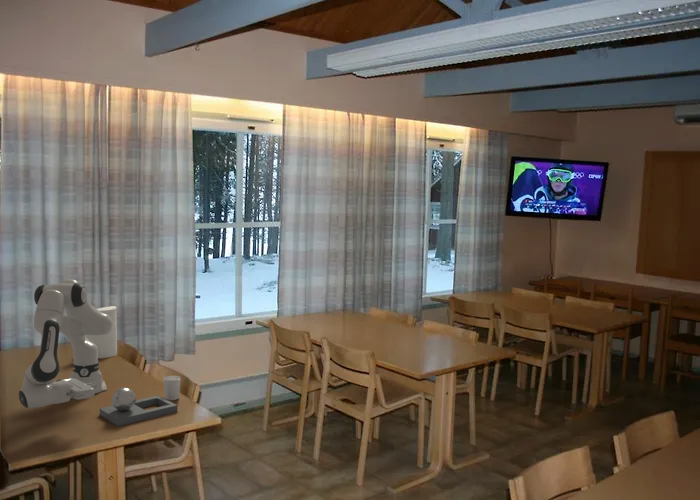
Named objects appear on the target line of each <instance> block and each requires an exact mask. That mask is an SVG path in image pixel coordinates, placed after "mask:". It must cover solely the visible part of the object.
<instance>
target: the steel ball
mask: <svg viewBox="0 0 700 500" xmlns="http://www.w3.org/2000/svg"><path fill="white" fill-rule="evenodd" d="M136 400H137V398H136V394H135V392H134V391H133V389H131V388H128V387H121V388H118V389H116V390H115V391H114V392H113V394H112V397H111V404H112V406H114V407H115V408H116V409H117V410H120V411H126V410H129V409H130V408H132V407H133V405H134V404H135V401H136Z"/></svg>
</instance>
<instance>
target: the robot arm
mask: <svg viewBox="0 0 700 500" xmlns="http://www.w3.org/2000/svg"><path fill="white" fill-rule="evenodd" d="M33 296H34V297H33V299H34V302H35V304H36V308H35V311H34V312H35V313H34V319H33V328H34V330H35V331H36V332H37V333H38V334H40V335H41V341H40V348H39V353H38V355H37V358H36V359H35V360H34V361H33V362H32V364H30V365H29V366H27V368H26V369H25V370H24V374H23V382H22V385H21V388H20V390H19V391H18V399H19V402H20V404H21V405H22V406H23V407H24V408H27V409H35V408H42V407H43V408H44V407H47V406H49V405H57V404H58V405H59V404H62V403H67V402H69V401H71V398H72V399H74V400H84V399H85V400H86V399H91V398H93V397H95V394H98V393H102V392H104V391H107V384H106V381H105V380H104V379H103V373H102V372H101V371H100V362H99V360H98V359H99V358H98V348H97V346H96V345H95V344H94V343H93V342H91V341H89V340H88V338H87V337H86V335H90V336H99V335H104V334H108V333H109V332H110V330H111V328H112V319H111V317H110V316H109V315H107V314H104V313H102V312H100V311H99V310H97V309H98V308H96V307H95V306H94V305H92V304H91V303H90V300H89V299H88V291H87V288H86V287H85V285H83V284H81V283H79V282H78V280H75V279H73V278H67V279H64V280H62V281H60V282H59V283H51V284H47V283H45V284H40V285H39V286H38V287H36V289H35V290H34V293H33ZM60 333H61V334H62V335H64V336H65V338H67V340H68V341H69V343H70V344H71V347H72V355H73V363H72V373H71V374H70V375H69V378H66V379H60V378H58V379H56V377H57V376H58V374H59V372H60V362H59V359H58V346H59V338H60ZM53 379H55V380H54V381H52V380H53Z"/></svg>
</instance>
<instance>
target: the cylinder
mask: <svg viewBox="0 0 700 500" xmlns="http://www.w3.org/2000/svg"><path fill="white" fill-rule="evenodd" d="M96 309H97V310H99V311H100V312H102V313H104V314H107V315H109V316H110V317H111V319H112V328H111V330H110V332H109V333H108V334H104V335H99V336H90V335H86V337H87V338H88V340H89V341H91V342H93V343H94V344H95V345H96V346H97V348H98V359H106V358H113V357H115V356H117V355H118V319H117V317H118V316H117V315H118V314H117V306H114V305H111V306H104V307H99V308H96Z"/></svg>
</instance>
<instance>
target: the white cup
mask: <svg viewBox="0 0 700 500" xmlns="http://www.w3.org/2000/svg"><path fill="white" fill-rule="evenodd" d="M163 391H164V399H166V400H168V401H176V399H177V400H179V399H180V394H181V393H180V392H181V376H179V375H167V376H165V377H163Z"/></svg>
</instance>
